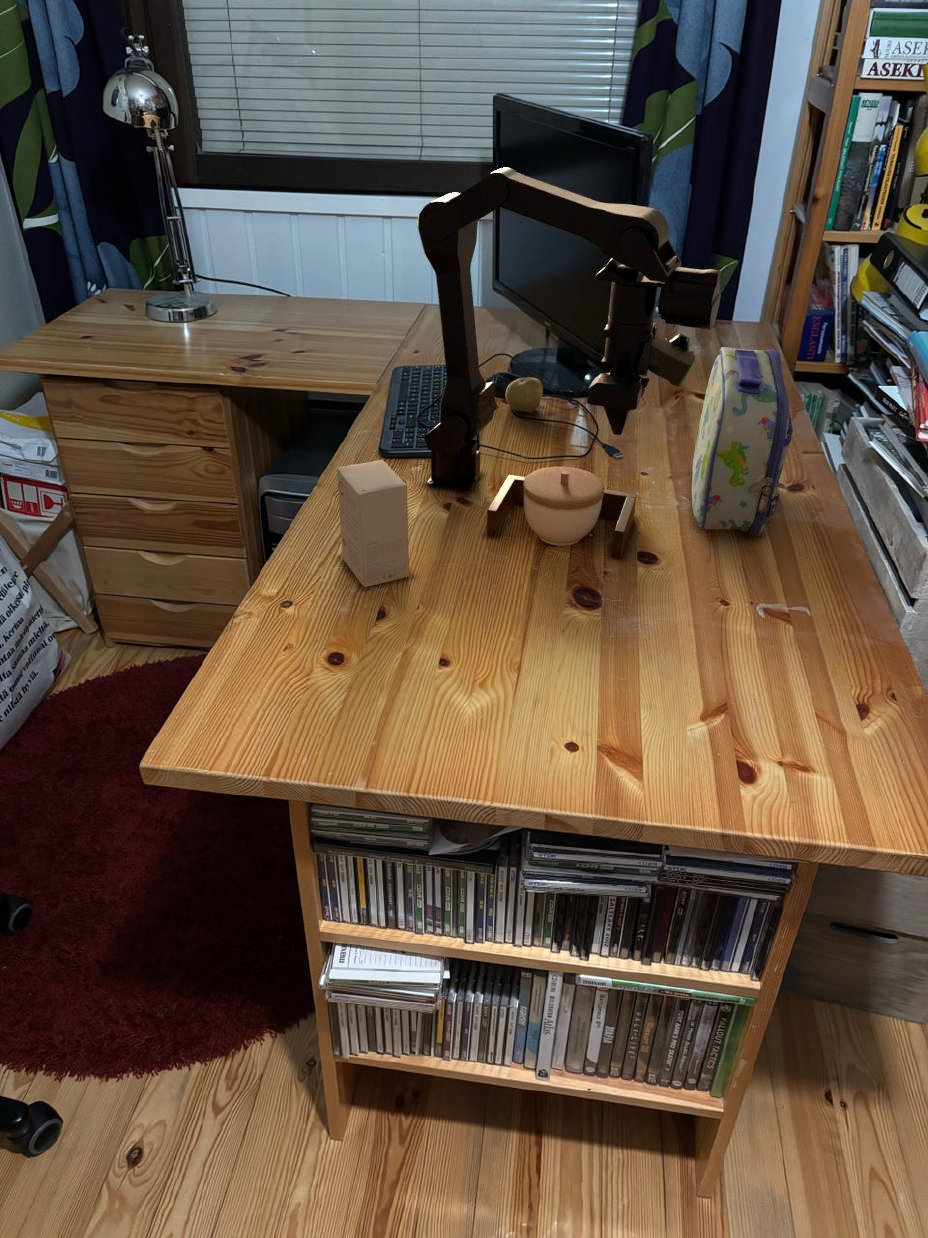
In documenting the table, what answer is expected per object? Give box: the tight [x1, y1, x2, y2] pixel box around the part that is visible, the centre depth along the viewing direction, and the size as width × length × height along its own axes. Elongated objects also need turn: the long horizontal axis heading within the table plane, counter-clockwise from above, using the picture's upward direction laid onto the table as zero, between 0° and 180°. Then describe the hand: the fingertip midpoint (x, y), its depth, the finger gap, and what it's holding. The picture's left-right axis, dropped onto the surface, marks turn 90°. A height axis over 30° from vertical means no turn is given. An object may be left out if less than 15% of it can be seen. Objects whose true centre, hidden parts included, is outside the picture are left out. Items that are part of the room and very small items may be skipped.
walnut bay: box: [486, 474, 637, 559], centre depth 128 cm, size 18×11×4 cm, turn 73°
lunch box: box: [691, 346, 794, 537], centre depth 130 cm, size 26×11×21 cm, turn 169°
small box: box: [336, 459, 410, 588], centre depth 116 cm, size 8×6×13 cm
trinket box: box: [523, 466, 605, 547], centre depth 125 cm, size 11×11×9 cm
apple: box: [504, 377, 544, 414], centre depth 162 cm, size 6×8×6 cm
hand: (617, 433), depth 126 cm, fingers closed
